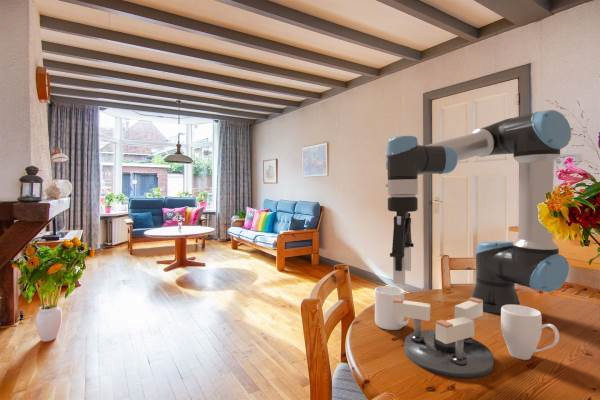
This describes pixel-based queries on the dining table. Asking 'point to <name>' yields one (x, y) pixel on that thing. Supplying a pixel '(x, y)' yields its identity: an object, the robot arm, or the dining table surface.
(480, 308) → the handle
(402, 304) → the handle
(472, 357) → the base
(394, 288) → the mug
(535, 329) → the mug
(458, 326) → the knob
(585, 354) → the dining table surface
